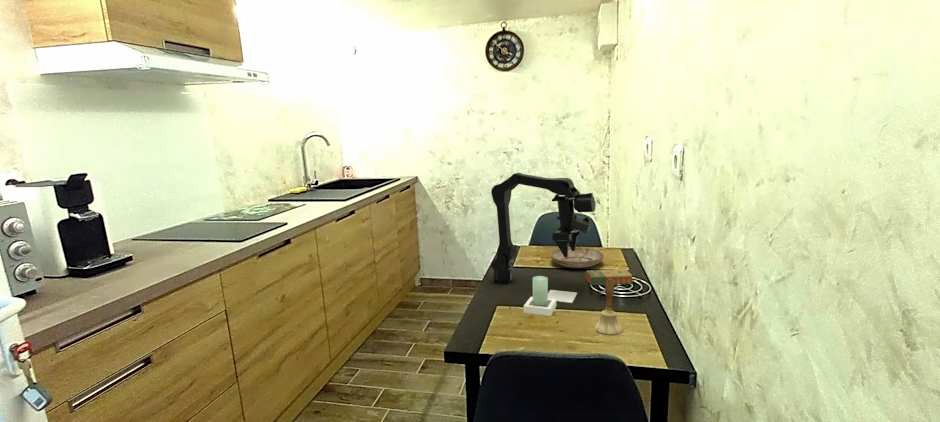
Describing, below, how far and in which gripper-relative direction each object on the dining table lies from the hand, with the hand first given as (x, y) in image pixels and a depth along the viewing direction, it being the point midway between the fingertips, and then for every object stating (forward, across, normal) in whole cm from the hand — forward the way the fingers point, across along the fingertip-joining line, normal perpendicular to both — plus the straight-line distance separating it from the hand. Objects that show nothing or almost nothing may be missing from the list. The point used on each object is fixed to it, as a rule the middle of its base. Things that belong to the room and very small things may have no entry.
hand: (569, 254), depth 174 cm
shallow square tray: (+14, -23, +5) cm, 27 cm away
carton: (+16, +16, -9) cm, 24 cm away
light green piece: (+13, -23, +4) cm, 27 cm away
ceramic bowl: (+14, +34, +8) cm, 38 cm away
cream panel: (+14, -8, +2) cm, 17 cm away
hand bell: (+16, -27, -19) cm, 37 cm away
